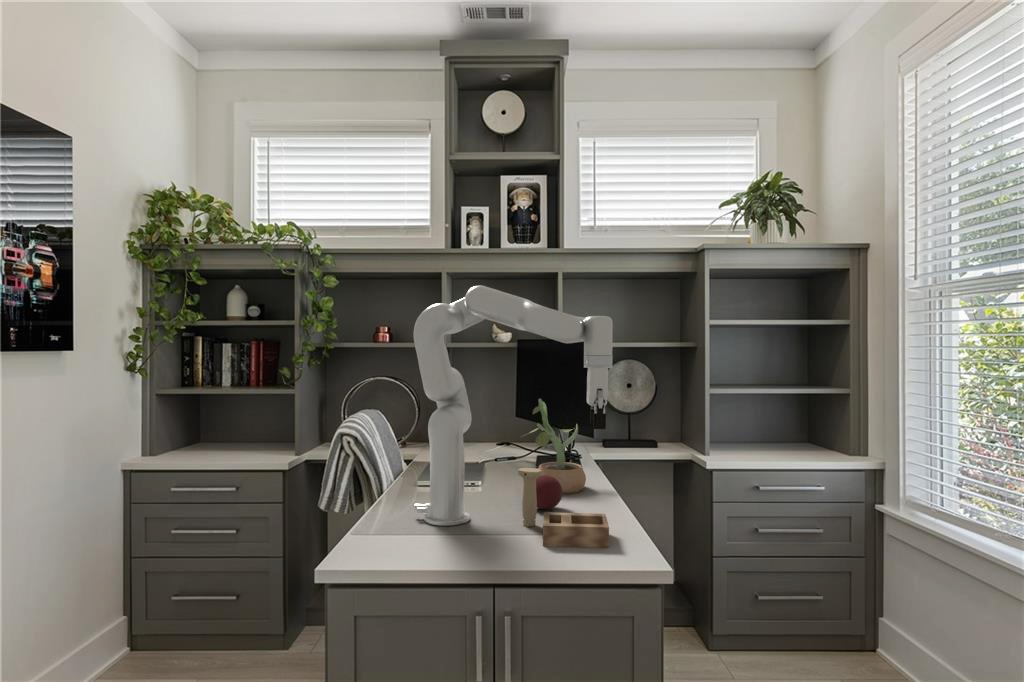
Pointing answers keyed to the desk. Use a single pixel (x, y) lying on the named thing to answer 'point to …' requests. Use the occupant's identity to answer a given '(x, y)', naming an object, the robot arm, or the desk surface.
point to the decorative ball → (548, 492)
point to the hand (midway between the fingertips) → (597, 426)
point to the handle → (529, 494)
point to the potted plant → (559, 456)
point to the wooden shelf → (575, 530)
